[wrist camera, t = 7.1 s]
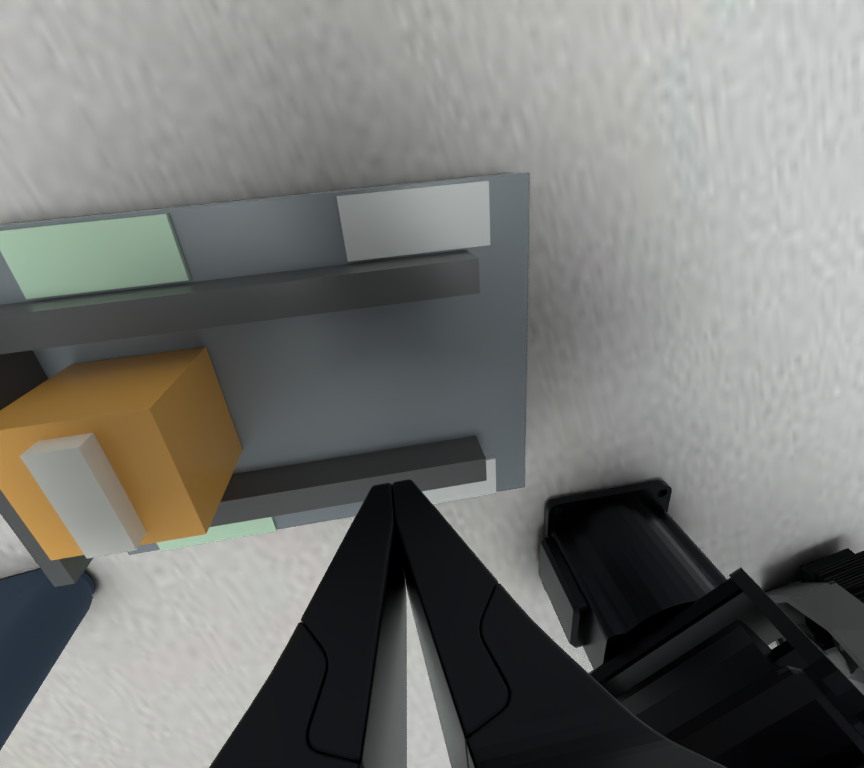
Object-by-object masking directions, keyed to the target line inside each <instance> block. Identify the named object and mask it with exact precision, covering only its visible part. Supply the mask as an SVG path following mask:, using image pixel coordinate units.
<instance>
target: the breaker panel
mask: <svg viewBox="0 0 864 768" xmlns="http://www.w3.org/2000/svg"><path fill="white" fill-rule="evenodd" d="M529 184H530V173H502V174H493V175H483V176H473V177H463V178H453V179H443V180H433V181H423V182H414V183H404V184H394V185H384V186H374V187H364V188H354V189H344V190H334V191H325V192H315V193H305V194H295V195H285V196H275V197H265V198H255V199H246V200H236V201H226V202H216V203H206V204H196V205H186V206H176V207H166V208H157V209H147V210H137V211H127V212H117V213H107V214H97V215H87V216H78V217H68V218H58V219H48V220H38V221H28V222H18V223H8V224H0V410H2V409H3V408H5V407H7V406H8V405H10V404H11V403H13V402H14V401H16V400H17V399H19V398H20V397H22V396H23V395H25V394H26V393H28V392H29V391H31V390H33V389H34V388H36V387H37V386H39V385H40V384H42V383H43V382H45V381H46V380H48V379H49V378H51V377H52V376H54V375H55V374H57V373H59V372H60V371H62V370H63V369H65V368H66V367H68V366H69V365H71V364H77V363H84V362H92V361H100V360H107V359H115V358H122V357H130V356H138V355H145V354H153V353H161V352H168V351H176V350H184V349H191V348H199V347H206V348H207V351H208V354H209V356H210V359H211V362H212V365H213V368H214V370H215V373H216V376H217V379H218V382H219V384H220V387H221V390H222V393H223V396H224V399H225V401H226V404H227V407H228V410H229V413H230V415H231V418H232V421H233V424H234V427H235V429H236V432H237V435H238V438H239V441H240V444H241V446H242V449H243V451H242V453H241V455H240V458H239V460H238V462H237V465H236V467H235V469H234V471H233V474H232V476H231V478H230V481H229V483H228V485H227V488H226V490H225V492H224V495H223V497H222V499H221V501H220V504H219V506H218V508H217V511H216V513H215V515H214V518H213V520H212V522H211V525H210V527H209V529H208V531H207V534H204V535H198V536H192V537H187V538H181V539H175V540H169V541H163V542H157V543H151V544H145V545H140V546H139V547H138V549H137V550H135V551H129V552H128V554H129V555H131V554H137V553H143V552H149V551H155V550H161V551H164V550H170V549H176V548H182V547H188V546H193V545H199V544H205V543H211V542H217V541H223V540H228V539H234V538H240V537H246V536H252V535H257V534H263V533H269V532H275V531H277V529H283V528H289V527H294V526H300V525H306V524H312V523H318V522H324V521H329V520H335V519H341V518H347V517H353V516H356V515H357V513H358V511H359V509H360V507H361V505H362V504H363V502H364V500H365V498H366V496H367V494H368V492H369V490H370V489H371V487H372V486H373V485H377V484H383V483H391V484H393V483H394V482H395V481H401V480H407V479H411V480H412V481H413V482H414V483H415V484H416V485H417V486H418V488H419V489H420V490H421V491H422V492H423V493H424V495H425V496H426V497H427V498H428V499H429V501H430V502H431V503H432V504H438V503H444V502H449V501H455V500H461V499H467V498H473V497H478V496H484V495H490V494H496V492H498V491H504V490H510V489H516V488H522V487H525V436H526V373H527V310H528V247H529ZM0 514H1V515H2V516H3V518H4V519H5V520H6V522H7V523H8V524H9V526H10V527H11V529H12V530H13V531H14V533H15V534H16V535H17V537H18V538H19V539H20V541H21V542H22V543H23V545H24V546H25V548H26V549H27V550H28V552H29V553H30V554H31V556H32V557H33V558H34V560H35V561H36V563H37V564H38V565H39V567H40V568H41V569H42V571H43V572H44V573H45V575H46V576H47V577H48V579H49V580H50V582H51V583H52V584H53V586H54V587H57V586H63V585H69V584H75V583H76V582H77V580H78V579H79V577H80V576H81V575H82V573H83V572H84V570H85V569H86V567H87V566H88V565H89V563H90V562H91V560H92V559H93V558H88V559H87V558H86V557H85V555H81V556H75V557H69V558H63V559H57V560H50V559H49V557H48V556H47V554H46V553H45V552H44V550H43V549H42V547H41V546H40V545H39V543H38V542H37V540H36V539H35V537H34V536H33V535H32V533H31V532H30V530H29V529H28V528H27V526H26V525H25V523H24V522H23V521H22V519H21V518H20V516H19V515H18V514H17V512H16V511H15V509H14V508H13V507H12V505H11V504H10V502H9V501H8V500H7V498H6V497H5V495H4V494H3V493H2V491H1V490H0Z"/></svg>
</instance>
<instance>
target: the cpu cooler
mask: <svg viewBox="0 0 864 768" xmlns="http://www.w3.org/2000/svg"><path fill="white" fill-rule="evenodd" d="M800 571H801V573H800V575H801V577H800V578H801V580H800V581H796V582H793V583H790V584H787V585H784V586H782V587H779V588H776V589H773V590H770V591H767V592H765V593H766V594H767V595H768V596H769V597H770V598H771V599H772V600H773V601H774V602H775V603H776V604H777V605H778V606H779V607H780V608H781V609H782V610H783V611H784V612H785V613H786V614H787V615H788V616H789V618H790V619H791V620H792V621H793V622H794V623H795V624H796V625H797V626H798V627H799V628H800V629H801V630H802V631H803V632H804V633H805V634H806V635H807V636H808V637H809V638H810V639H811V640H812V641H813V642H814V643H815V644H816V646H817V647H818V648H819V649H820V650H821V651H822V652H823V653H824V654H825V655H826V656H827V657H828V658H829V659H830V660H831V661H832V662H833V663H834V664H835V665H836V666H837V667H838V668H839V669H840V670H841V671H842V673H843V674H844V675H845V676H846V677H847V678H848V679H849V680H850V681H851V682H852V683H853V684H854V685H855V686H856V687H857V688H858V689H859V690H860V691H861V692H862V693H863V694H864V551H862V552H859V553H857V554H854V553H853V552H852V551H851V550H849V549H848V548H847V549H845V550H842V551H840V552H837V553H835V554H832V555H830V556H827V557H825V558H822V559H820V560H817V561H815V562H812V563H810V564H807V565H805V566H802V567H801V570H800ZM785 641H787V640H786V639H785V638H784V637H783V636H782V637H780V638H779V639H777V640H776V643H777V646H778V645H780V644H782V643H783V642H785Z"/></svg>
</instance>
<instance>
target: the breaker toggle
mask: <svg viewBox="0 0 864 768" xmlns="http://www.w3.org/2000/svg"><path fill="white" fill-rule="evenodd" d="M242 451H243V449H242V446H241V444H240V441H239V438H238V435H237V432H236V429H235V427H234V424H233V421H232V418H231V415H230V413H229V410H228V407H227V404H226V401H225V399H224V396H223V393H222V390H221V387H220V384H219V382H218V379H217V376H216V373H215V370H214V368H213V365H212V362H211V359H210V356H209V354H208V351H207V348H206V347H199V348H191V349H184V350H176V351H168V352H161V353H153V354H145V355H138V356H130V357H122V358H115V359H107V360H100V361H92V362H84V363H77V364H71V365H69V366H68V367H66V368H65V369H63V370H62V371H60V372H59V373H57V374H55V375H54V376H52V377H51V378H49V379H48V380H46V381H45V382H43V383H42V384H40V385H39V386H37V387H36V388H34V389H33V390H31V391H29V392H28V393H26V394H25V395H23V396H22V397H20V398H19V399H17V400H16V401H14V402H13V403H11V404H10V405H8V406H7V407H5V408H3V409H2V410H0V490H1V491H2V493H3V494H4V495H5V497H6V498H7V500H8V501H9V502H10V504H11V505H12V507H13V508H14V509H15V511H16V512H17V514H18V515H19V516H20V518H21V519H22V521H23V522H24V523H25V525H26V526H27V528H28V529H29V530H30V532H31V533H32V535H33V536H34V537H35V539H36V540H37V542H38V543H39V545H40V546H41V547H42V549H43V550H44V552H45V553H46V554H47V556H48V557H49V559H50V560H57V559H63V558H69V557H75V556H81V555H85V557H86V558H87V559H88V558H94V557H100V556H105V555H111V554H117V553H123V552H129V551H135V550H137V549H138V547H139V546H140V545H145V544H151V543H157V542H163V541H169V540H175V539H181V538H187V537H192V536H198V535H204V534H207V531H208V529H209V527H210V525H211V522H212V520H213V518H214V515H215V513H216V511H217V508H218V506H219V504H220V501H221V499H222V497H223V495H224V492H225V490H226V488H227V485H228V483H229V481H230V478H231V476H232V474H233V471H234V469H235V467H236V465H237V462H238V460H239V458H240V455H241V453H242Z"/></svg>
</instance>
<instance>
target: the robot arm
mask: <svg viewBox="0 0 864 768" xmlns="http://www.w3.org/2000/svg"><path fill="white" fill-rule="evenodd" d="M671 492H672V489H671V487H670V486H669V485H668V484H667V483H666V482H665V481H654V482H648V483H642V484H636V485H631V486H625V487H619V488H614V489H608V490H602V491H596V492H591V493H585V494H579V495H574V496H568V497H562V498H557V499H553V500H551V501H549V502H548V503H547V505H546V508H545V527H544V537H542V539H541V541H540V551H539V576H540V578H541V580H542V584H543V586H544V589H545V591H546V592H547V594H548V596H549V598H550V601H551V603H552V605H553V607H554V610H555V612H556V614H557V616H558V619H559V621H560V623H561V626H562V628H563V630H564V632H565V635H566V637H567V639H568V641H569V643H570V644H571V645H573V646H574V647H575V648H576V647H581V646H583V648H584V650H585V652H586V654H587V656H588V658H589V661H590V663H591V665H592V667H593V669H594V670H593V671H591V672H590V673H587V672H586V671H585V670H584V669H583V668H582V667H581V666H580V665H579V664H578V663H577V662H576V661H575V660H573V659H572V658H571V657H570V656H569V655H568V654H567V653H566V652H565V651H564V650H563V649H562V648H561V647H559V646H558V645H557V644H556V643H555V642H554V641H553V640H552V639H551V638H550V637H549V636H548V635H547V634H546V633H545V632H544V631H543V630H542V629H541V628H540V627H539V626H538V625H537V624H536V623H535V622H534V621H533V620H532V619H531V618H530V617H529V616H528V615H527V614H526V613H525V611H524V610H523V609H522V608H521V607H520V606H519V605H518V604H517V603H516V602H515V600H514V599H513V598H512V597H511V596H510V595H509V593H508V592H507V591H506V590H505V589H504V588H503V586H502V585H501V584H498V581H497V580H496V578H495V577H494V576H493V575H492V574H491V573H490V571H489V570H488V569H487V568H486V567H485V565H484V564H483V563H482V562H481V561H480V560H479V558H478V557H477V556H476V555H475V554H474V552H473V551H472V550H471V549H470V548H469V547H468V545H467V544H466V543H465V542H464V541H463V539H462V538H461V537H460V536H459V535H458V534H457V532H456V531H455V530H454V529H453V528H452V526H451V525H450V524H449V523H448V522H447V521H446V519H445V518H444V517H443V516H442V515H441V514H440V512H439V511H438V510H437V509H436V508H435V506H434V505H433V504H432V503H431V502H430V501H429V499H428V498H427V497H426V496H425V495H424V493H423V492H422V491H421V490H420V489H419V488H418V486H417V485H416V484H415V483H414V482H413V481H412V480H411V479H407V480H401V481H395V482H394V483H393V484H391V483H383V484H377V485H373V486H372V487H371V489H370V490H369V492H368V494H367V496H366V498H365V500H364V502H363V504H362V505H361V507H360V509H359V511H358V513H357V515H356V517H355V519H354V520H353V522H352V524H351V526H350V528H349V530H348V532H347V534H346V535H345V537H344V539H343V541H342V543H341V545H340V547H339V549H338V550H337V552H336V554H335V556H334V558H333V560H332V562H331V564H330V565H329V567H328V569H327V571H326V573H325V575H324V577H323V579H322V581H321V582H320V584H319V586H318V588H317V590H316V592H315V594H314V596H313V597H312V599H311V601H310V603H309V605H308V607H307V609H306V611H305V612H304V614H303V616H302V618H301V622H300V623H298V625H297V627H296V629H295V631H294V633H293V635H292V636H291V638H290V640H289V642H288V644H287V646H286V647H285V649H284V651H283V653H282V654H281V656H280V658H279V660H278V662H277V663H276V665H275V667H274V669H273V670H272V672H271V674H270V675H269V677H268V678H267V680H266V682H265V683H264V685H263V686H262V688H261V689H260V691H259V693H258V694H257V696H256V697H255V699H254V700H253V702H252V704H251V705H250V707H249V708H248V710H247V711H246V713H245V714H244V716H243V717H242V719H241V720H240V722H239V723H238V725H237V726H236V728H235V729H234V731H233V732H232V734H231V735H230V737H229V738H228V740H227V741H226V743H225V744H224V746H223V747H222V749H221V750H220V752H219V753H218V755H217V757H216V758H215V760H214V761H213V763H212V764H211V766H210V767H209V768H407V628H406V586H407V591H408V596H409V600H410V604H411V608H412V612H413V616H414V620H415V624H416V628H417V632H418V636H419V640H420V644H421V648H422V652H423V656H424V660H425V664H426V668H427V672H428V676H429V680H430V684H431V688H432V692H433V696H434V700H435V703H436V707H437V711H438V715H439V719H440V723H441V727H442V731H443V735H444V739H445V743H446V747H447V751H448V755H449V759H450V763H451V767H452V768H864V694H863V693H862V692H861V691H860V690H859V689H858V688H857V687H856V686H855V685H854V684H853V683H852V682H851V681H850V680H849V679H848V678H847V677H846V676H845V675H844V674H843V673H842V671H841V670H840V669H839V668H838V667H837V666H836V665H835V664H834V663H833V662H832V661H831V660H830V659H829V658H828V657H827V656H826V655H825V654H824V653H823V652H822V651H821V650H820V649H819V648H818V647H817V646H816V644H815V643H814V642H813V641H812V640H811V639H810V638H809V637H808V636H807V635H806V634H805V633H804V632H803V631H802V630H801V629H800V628H799V627H798V626H797V625H796V624H795V623H794V622H793V621H792V620H791V619H790V618H789V616H788V615H787V614H786V613H785V612H784V611H783V610H782V609H781V608H780V607H779V606H778V605H777V604H776V603H775V602H774V601H773V600H772V599H771V598H770V597H769V596H768V595H767V594H766V593H765V592H764V591H763V590H762V589H761V588H760V587H759V586H758V585H757V584H756V583H755V582H754V581H753V580H752V578H751V577H750V576H749V575H748V574H747V573H746V572H745V571H744V570H743V569H742V568H741V567H740V568H739V569H737V570H736V571H734V572H733V573H732V574H730V575H729V576H730V577H731V578H729V579H728V580H727V579H726V578H725V577H724V575H723V574H722V573H721V572H720V571H719V570H718V569H717V568H716V567H715V565H714V564H713V563H712V562H711V561H710V560H709V559H708V558H707V557H706V555H705V554H704V553H703V552H702V551H701V550H700V549H699V548H698V547H697V545H696V544H695V543H694V542H693V541H692V540H691V539H690V538H689V537H688V535H687V534H686V533H685V532H684V531H683V530H682V529H681V528H680V527H679V525H678V524H677V523H676V522H675V521H674V520H673V519H672V518H671V517H670V515H669V514H668V513H667V510H668V506H669V501H670V497H671ZM557 508H558V509H557ZM555 509H557V510H555ZM405 580H406V583H405ZM782 636H783V637H784V638H785V639H786V640H787V641H785V642H783V643H782V644H780V645H778V646H777V647H775V648H774V649H772V650H771V649H770V648H769V646H768V645H769V644H771V643H772V642H774V641H776V640H777V639H779V638H780V637H782Z"/></svg>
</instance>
